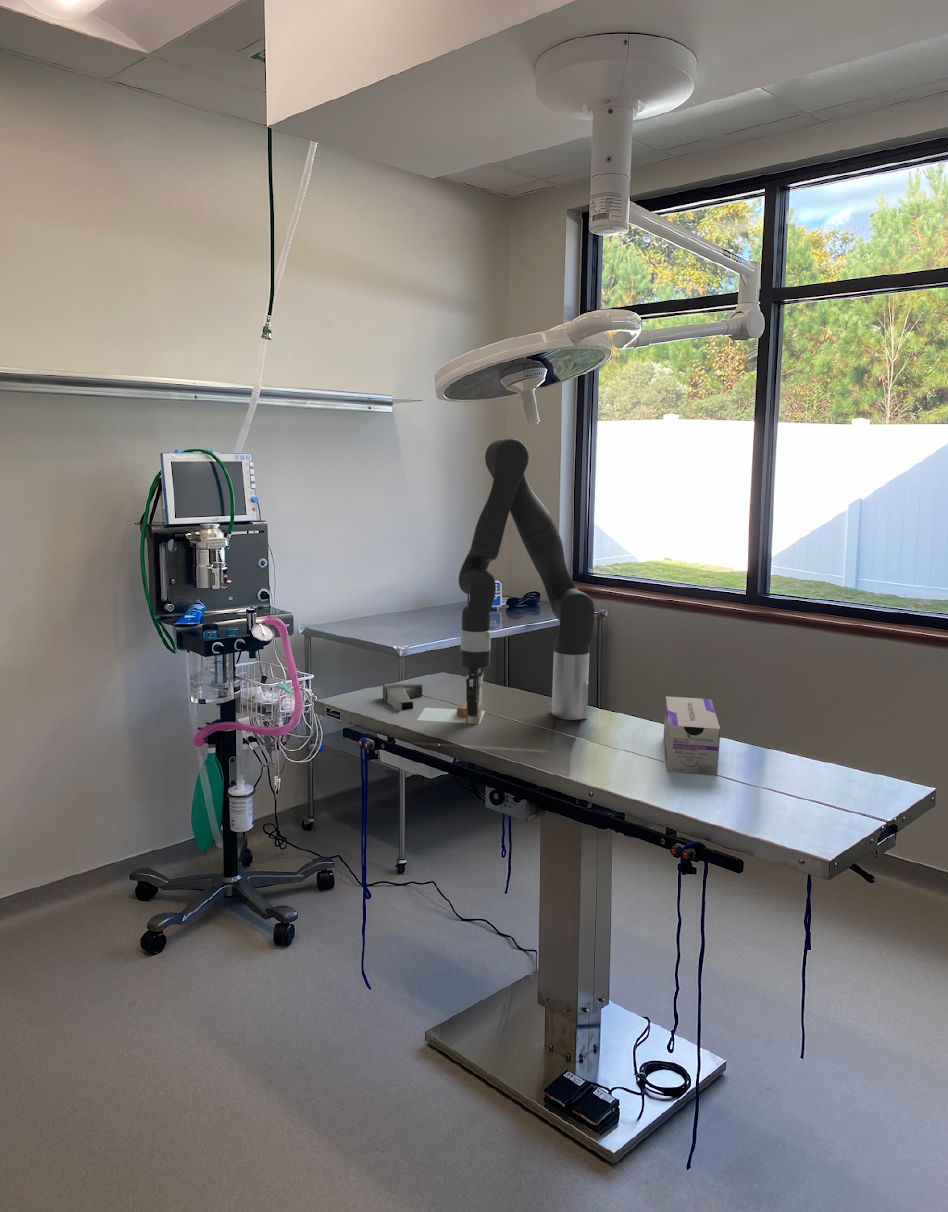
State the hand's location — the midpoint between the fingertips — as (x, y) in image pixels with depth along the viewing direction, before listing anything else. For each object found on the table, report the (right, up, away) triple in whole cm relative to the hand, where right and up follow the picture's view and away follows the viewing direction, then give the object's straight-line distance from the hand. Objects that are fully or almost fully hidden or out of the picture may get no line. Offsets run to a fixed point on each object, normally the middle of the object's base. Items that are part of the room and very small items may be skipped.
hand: (473, 712), depth 235 cm
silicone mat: (-6, -2, +4) cm, 7 cm away
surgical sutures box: (+49, -8, -22) cm, 55 cm away
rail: (-3, -2, +6) cm, 7 cm away
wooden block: (0, -2, 0) cm, 2 cm away
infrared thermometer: (-18, 0, +18) cm, 25 cm away
